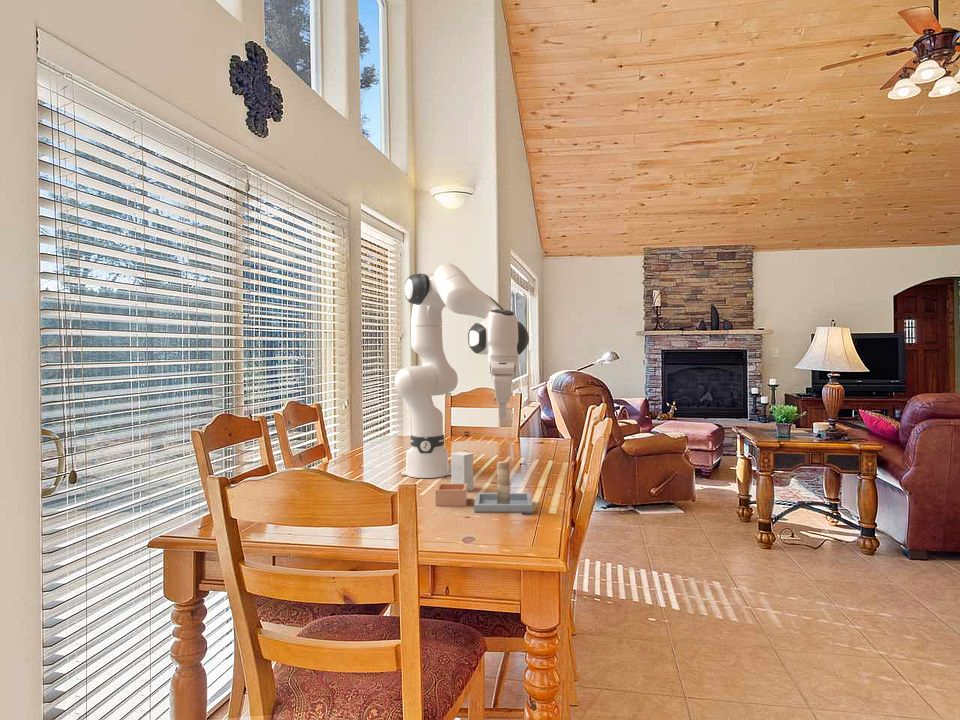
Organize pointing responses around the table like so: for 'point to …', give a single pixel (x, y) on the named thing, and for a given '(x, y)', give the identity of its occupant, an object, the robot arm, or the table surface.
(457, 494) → the terracotta open box
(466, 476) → the skincare box
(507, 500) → the translucent grey tall block
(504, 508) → the slate tray
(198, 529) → the table surface
